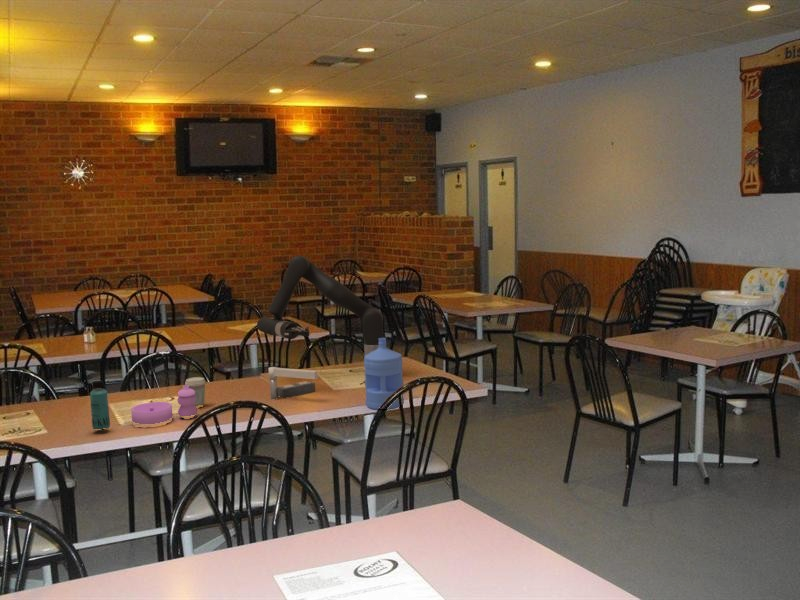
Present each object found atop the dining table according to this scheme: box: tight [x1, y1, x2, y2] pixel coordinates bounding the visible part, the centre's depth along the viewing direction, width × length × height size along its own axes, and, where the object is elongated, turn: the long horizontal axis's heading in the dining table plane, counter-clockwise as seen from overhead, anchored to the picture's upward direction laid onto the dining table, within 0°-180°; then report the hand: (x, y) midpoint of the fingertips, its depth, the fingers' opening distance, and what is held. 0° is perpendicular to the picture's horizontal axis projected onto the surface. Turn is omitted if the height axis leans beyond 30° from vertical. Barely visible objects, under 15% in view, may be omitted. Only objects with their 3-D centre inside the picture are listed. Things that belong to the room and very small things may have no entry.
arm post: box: [269, 377, 279, 400], centre depth 342 cm, size 3×3×9 cm
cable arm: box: [268, 366, 319, 380], centre depth 336 cm, size 24×4×4 cm, turn 64°
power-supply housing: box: [277, 380, 316, 399], centre depth 349 cm, size 16×6×4 cm, turn 129°
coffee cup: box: [184, 376, 207, 406], centre depth 333 cm, size 8×8×12 cm
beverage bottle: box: [89, 379, 111, 429], centre depth 301 cm, size 6×7×20 cm
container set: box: [130, 384, 198, 424], centre depth 314 cm, size 25×15×13 cm, turn 112°
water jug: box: [363, 337, 405, 411], centre depth 323 cm, size 16×16×28 cm
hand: (307, 334), depth 340 cm, fingers closed
